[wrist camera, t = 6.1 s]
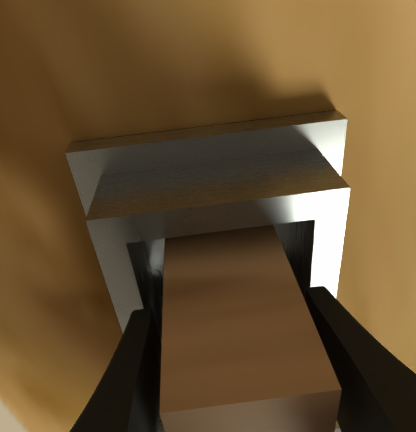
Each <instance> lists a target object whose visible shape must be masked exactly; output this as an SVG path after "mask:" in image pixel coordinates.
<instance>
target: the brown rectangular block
mask: <svg viewBox="0 0 416 432" xmlns="http://www.w3.org/2000/svg"><path fill="white" fill-rule="evenodd" d="M341 391H342V389H341V387H340V384H339V382H338V379H337V377H336V374H335V372H334V370H333V367H332V365H331V362H330V360H329V358H328V355H327V353H326V350H325V348H324V346H323V343H322V341H321V338H320V336H319V334H318V331H317V329H316V326H315V324H314V321H313V319H312V317H311V314H310V312H309V309H308V307H307V305H306V302H305V300H304V297H303V295H302V293H301V290H300V288H299V285H298V283H297V281H296V278H295V276H294V273H293V271H292V268H291V266H290V264H289V261H288V259H287V256H286V254H285V252H284V249H283V247H282V244H281V242H280V240H279V237H278V235H277V232H276V230H275V227H274V225H266V226H258V227H250V228H242V229H234V230H226V231H218V232H210V233H202V234H195V235H187V236H179V237H171V238H165V241H164V276H163V312H162V347H161V382H160V417H161V420H162V423H163V427H164V430H165V432H335V426H336V421H337V415H338V409H339V403H340V397H341Z"/></svg>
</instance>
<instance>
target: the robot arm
mask: <svg viewBox="0 0 416 432" xmlns="http://www.w3.org/2000/svg"><path fill="white" fill-rule="evenodd" d="M305 302H306V305H307V307H308V309H309V312H310V314H311V317H312V319H313V321H314V324H315V326H316V329H317V331H318V334H319V336H320V338H321V341H322V343H323V346H324V348H325V350H326V353H327V355H328V358H329V360H330V362H331V365H332V367H333V370H334V372H335V374H336V377H337V379H338V382H339V384H340V387H341V389H342V391H341V397H340V403H339V409H338V415H337V422H338V424H339V427H340V430H341V432H416V374H415V373H414V372H413V371H411V370H410V369H409V368H408V367H407V366H405V365H404V364H403V363H402V362H401V361H399V360H398V359H397V358H396V357H395V356H394V355H393V354H391V353H390V352H389V351H388V350H387V349H386V348H385V347H384V346H382V345H381V344H380V343H379V342H378V341H377V340H376V339H375V338H374V337H373V336H372V335H371V334H370V333H369V332H368V331H367V330H366V329H365V328H364V327H363V326H362V325H361V324H360V323H359V322H358V321H357V320H356V319H355V318H354V317H353V316H352V315H351V314H350V313H349V312H348V311H347V310H346V309H345V308H344V307H343V306H342V305H341V304H340V302H339V301H338V300H337V299H336V298H335V297H334V296H333V295H332V294H331V292H330V291H329V290H328V289H327V288H326V287H325V286H317V287H309V288H305ZM161 347H162V345H161V341H160V338H159V334H158V330H157V326H156V322H155V318H154V314H153V310H152V308H147V309H139V310H134V311H133V312H132V313H131V315H130V317H129V320H128V323H127V325H126V328H125V330H124V333H123V335H122V337H121V340H120V342H119V344H118V346H117V349H116V351H115V353H114V355H113V357H112V359H111V361H110V363H109V365H108V367H107V369H106V371H105V373H104V375H103V377H102V379H101V380H100V382H99V384H98V386H97V388H96V390H95V391H94V393H93V395H92V397H91V398H90V400H89V402H88V403H87V405H86V407H85V408H84V410H83V412H82V413H81V415H80V416H79V418H78V420H77V421H76V423H75V424H74V426H73V427H72V429H71V430H70V432H158V431H159V419H160V382H161Z"/></svg>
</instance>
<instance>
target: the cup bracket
mask: <svg viewBox="0 0 416 432" xmlns="http://www.w3.org/2000/svg"><path fill="white" fill-rule="evenodd" d="M346 127H347V118H346V117H345V116H343V115H342V114H341V113H340V112H338V111H337V110H335V111H327V112H318V113H310V114H302V115H294V116H285V117H277V118H269V119H261V120H252V121H244V122H236V123H228V124H219V125H211V126H203V127H195V128H187V129H178V130H170V131H162V132H154V133H145V134H137V135H129V136H121V137H112V138H104V139H96V140H88V141H79V142H72V143H71V144H70V146H69V148H68V149H67V151H66V153H65V154H66V157H67V160H68V163H69V166H70V169H71V172H72V176H73V179H74V182H75V185H76V188H77V191H78V194H79V197H80V200H81V203H82V206H83V209H84V212H85V215H86V220H85V222H86V225H87V228H88V231H89V234H90V237H91V240H92V243H93V246H94V249H95V252H96V255H97V258H98V261H99V264H100V267H101V270H102V273H103V276H104V279H105V282H106V285H107V288H108V291H109V294H110V297H111V300H112V303H113V306H114V309H115V312H116V315H117V318H118V321H119V324H120V327H121V330H122V333H124V330H125V328H126V325H127V323H128V320H129V317H130V315H131V313H132V312H133V311H134V310H139V309H147V308H152V310H153V314H154V318H155V322H156V326H157V330H158V334H159V338H160V341H161V345H162V312H163V276H164V241H165V238H171V237H179V236H187V235H195V234H202V233H210V232H218V231H226V230H234V229H242V228H250V227H258V226H266V225H274V227H275V230H276V232H277V235H278V237H279V240H280V242H281V244H282V247H283V249H284V252H285V254H286V256H287V259H288V261H289V264H290V266H291V268H292V271H293V273H294V276H295V278H296V281H297V283H298V285H299V288H300V290H301V293H302V295H303V297H304V300H305V288H309V287H317V286H325V287H326V288H327V289H328V290H329V291H330V292H331V294H332V295H333V296H334V297H335V298H336V294H337V286H338V278H339V271H340V263H341V255H342V247H343V240H344V232H345V224H346V217H347V209H348V201H349V193H350V187H349V186H348V184H347V183H346V182H345V181H344V180H343V178H342V177H341V172H342V163H343V154H344V145H345V136H346ZM158 432H165V430H164V427H163V423H162V420H161V417H160V419H159V431H158ZM335 432H341V430H340V427H339V424H338V422H337V421H336V426H335Z"/></svg>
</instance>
